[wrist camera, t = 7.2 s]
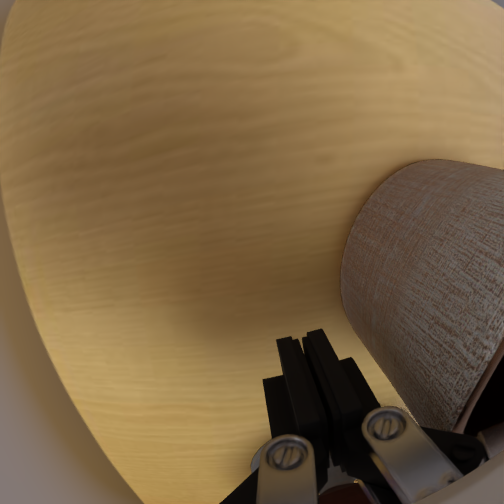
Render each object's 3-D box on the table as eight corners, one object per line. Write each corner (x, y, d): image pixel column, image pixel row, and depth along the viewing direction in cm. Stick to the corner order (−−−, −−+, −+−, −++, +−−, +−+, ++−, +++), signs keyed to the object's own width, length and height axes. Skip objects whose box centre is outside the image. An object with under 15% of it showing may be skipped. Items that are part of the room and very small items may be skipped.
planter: (326, 358, 16) (393, 504, 7) (337, 151, 12) (523, 170, 3) (466, 326, 17) (551, 407, 7) (493, 167, 13) (621, 201, 4)
